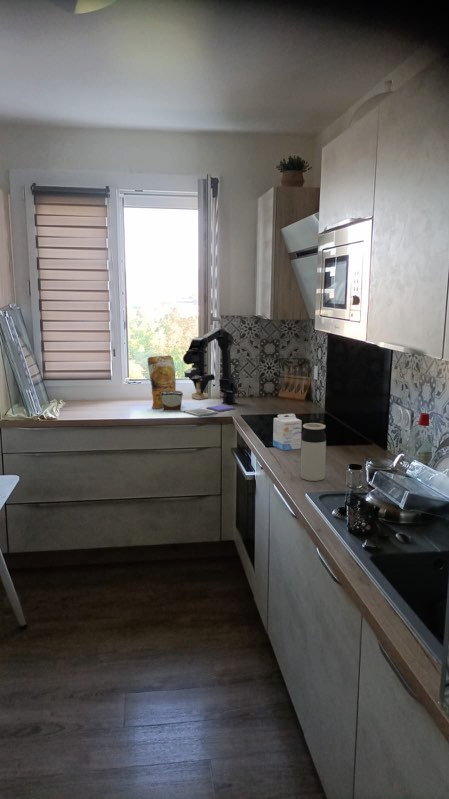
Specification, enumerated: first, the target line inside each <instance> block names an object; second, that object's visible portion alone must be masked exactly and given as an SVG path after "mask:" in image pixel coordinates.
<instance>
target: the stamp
mask: <svg viewBox="0 0 449 799" xmlns="http://www.w3.org/2000/svg"><path fill="white" fill-rule="evenodd" d="M195 390H196V392H194V393H191V399H192V400H195V401H204V400H208V398H209V393H207V392H206V393H205V392H203V393H201V388H200V382H196V389H195Z"/></svg>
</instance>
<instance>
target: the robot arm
mask: <svg viewBox="0 0 449 799" xmlns="http://www.w3.org/2000/svg"><path fill="white" fill-rule="evenodd" d="M212 341H217V346H218V348H220V352H221V369H222V376H221V378H219V380H218V382H219V384H218V385H219V386H218V387H219V389H220V393H222V394H223V395H222V401H221V404H223V405H224V404H225V405H227V406H230V405H237V404H238V402H237V401H236V395H237V394H238V393H239V388H238V386H237V385H236V381H235V378H234V377H233V375H232V360H231V358H232V356H231V349H232V347H233V344H234V335H232V334H231V333H230V332H228V331H227V330H226V331H225V330H224V329H223V328H219V327H217V328H213V329H212V330H210V331H209V332H207V333H206V334H204V335H201V336H197V337H193V338H192V339H191V342H190V344H189V347H188V350H186V353H185V354H184V355H183V357H182V360H183V362H184V364H185V365H191V368H188V369H186V370H185V371H184V372H183V373H184V377H185V378H187V379H189V380H190V381H191V382H192V383H193V386H194V388H195V390H196V382H200V388H201V393H205V392H204V391H205V389H206V388H207V385H208V384H209V382H210V381H215V380H216V375H215V374H212V373H207V371H206V367H207V364H206V354H208V352H207V351H206V349H207V347H208V346H209V343H211V342H212Z"/></svg>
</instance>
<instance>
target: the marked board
mask: <svg viewBox="0 0 449 799" xmlns="http://www.w3.org/2000/svg"><path fill="white" fill-rule="evenodd" d="M181 412H182V413H184V414H189V415H192V416H195V417H205V416H210V415H211V416H212V415H217V414H219V412H217V411H213V410H208V409H206V408H203V407H198V408H192V409H186V410H181Z"/></svg>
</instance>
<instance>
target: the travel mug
mask: <svg viewBox="0 0 449 799" xmlns="http://www.w3.org/2000/svg"><path fill="white" fill-rule="evenodd" d="M326 428H327V427H326V424H323V423H319V422H317V423H316V422H309V423H304V424H303V425H302V429H303V431H302V432H301V448H300V449H301V451H300V452H301V455H300V456H301V457H300V477H301V479H303V480H306V481H309V482H318V481H322V480H324V479H325V478H326V456H327V455H326V454H327V452H326V448H327V447H326V446H327V435H326V432H325V429H326Z"/></svg>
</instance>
